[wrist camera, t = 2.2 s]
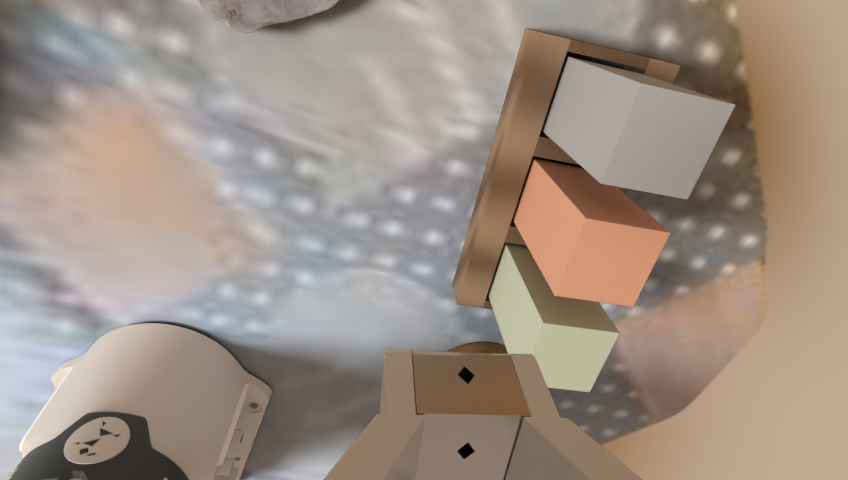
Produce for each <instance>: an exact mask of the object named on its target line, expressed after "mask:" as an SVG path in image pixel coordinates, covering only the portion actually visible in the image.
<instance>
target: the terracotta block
mask: <svg viewBox="0 0 848 480" xmlns="http://www.w3.org/2000/svg"><path fill="white" fill-rule="evenodd" d="M513 221H514V223H515V225H516V227H517V229H518V230H519V232H520V234H521V236H522V238H523V239H524V241H525V243H526V245H527V247H528V249H529V250H530V252H531V254H532V256H533V258H534V259H535V261H536V263H537V265H538V267H539V268H540V270H541V272H542V274H543V276H544V277H545V279H546V281H547V283H548V285H549V286H550V288H551V290H552V292H553V294H554V296H560V297H567V298H574V299H581V300H588V301H596V302H603V303H610V304H617V305H624V306H631V307H633V306H634V304H635V302H636V300H637V298H638V296H639V294H640V292H641V290H642V288H643V286H644V284H645V282H646V280H647V278H648V276H649V274H650V272H651V270H652V268H653V266H654V264H655V262H656V261H657V259H658V257H659V255H660V253H661V251H662V249H663V247H664V245H665V243H666V241H667V239H668V237H669V235H670V232H669V231H668V230H666V229H665V228H664V227H663V226H662V225H661V224H659V223H658V222H657V221H656V220H655V219H654V218H652V217H651V216H650V215H649V214H648V213H646V212H645V211H644V210H643V209H642V208H641V207H639V206H638V205H637V204H636V203H635V202H634V201H632V200H631V199H630V198H629V197H628V196H627V195H625V194H624V193H623V192H622V191H621V190H620V189H618V188H617V187H616V186H611V185H606V184H600V183H599V182H598V181H597V180H596V179H595V178H594V177H593V176H592V175H590V174H589V173H588V172H587V171H586V170H585V169H584V168H581V167H576V166H571V165H565V164H560V163H555V162H550V161H544V160H539V159H534V158H533V161H532V164H531V167H530V170H529V173H528V176H527V179H526V182H525V185H524V188H523V191H522V194H521V197H520V200H519V204H518V207H517V210H516V213H515V216H514V219H513Z"/></svg>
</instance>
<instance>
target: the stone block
mask: <svg viewBox="0 0 848 480" xmlns="http://www.w3.org/2000/svg"><path fill="white" fill-rule="evenodd" d="M338 1H339V0H198V2H199V4H200V5H201V7H202V8H203V9H204V10H205V11H206V12H207V14H208V15H209V16H210V17H211V18H213V19H214V20H218V21H222V22H223V23H224V25H225V26H226V27H227V28H229V29H232V30H237V31H242V32H246V33H249V32H254V31H257V30H260V29H261V28H263V27H266V26H269V25H273V24H277V23H284V22H291V21H293V20H296V19H300V18H305V17H308V16H311V15H313V14H316V13H320V12H323V11H325V10H328V9H330V8H332V7H333V6H334V5H335V4H336V3H337V2H338Z"/></svg>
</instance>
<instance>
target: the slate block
mask: <svg viewBox="0 0 848 480" xmlns="http://www.w3.org/2000/svg"><path fill="white" fill-rule="evenodd" d="M734 107H735V104H732V103H729V102H726V101H723V100H720V99H717V98H714V97H711V96H708V95H705V94H701V93H698V92H695V91H692V90H689V89H686V88H683V87H680V86H677V85H674V84H671V83H668V82H665V81H662V80H659V79H656V78H653V77H650V76H647V75H643V74H640V73H637V72H633V71H629V70H625V69H620V68H616V67H612V66H607V65H603V64H599V63H594V62H590V61H586V60H581V59H577V58H573V57H568V56H567V58H566V61H565V64H564V67H563V70H562V73H561V76H560V79H559V82H558V85H557V89H556V92H555V95H554V98H553V101H552V104H551V107H550V110H549V113H548V116H547V119H546V122H545V125H544V128H543V132H544V133H545V134H546V135H547V136H548V137H549V138H550V139H552V140H553V141H554V142H555V143H556V144H557V145H558V146H559V147H560V148H562V149H563V150H564V151H565V152H566V153H567V154H568V155H569V156H570V157H572V158H573V159H574V160H575V161H576V162H577V163H578V164H579V165H580V166H582V167H583V168H584V169H585V170H586V171H587V172H588V173H589V174H590V175H592V176H593V177H594V178H595V179H596V180H597V181H598V182H599V183H600V184H606V185H611V186H617V187H622V188H627V189H633V190H638V191H643V192H649V193H654V194H660V195H665V196H670V197H676V198H681V199H688V198H689V196H690V194H691V192H692V190H693V188H694V186H695V184H696V182H697V180H698V178H699V176H700V174H701V172H702V170H703V168H704V166H705V164H706V162H707V160H708V158H709V156H710V154H711V152H712V150H713V148H714V146H715V144H716V142H717V140H718V138H719V136H720V134H721V133H722V131H723V129H724V127H725V125H726V123H727V121H728V119H729V117H730V115H731V113H732V111H733V109H734Z"/></svg>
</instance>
